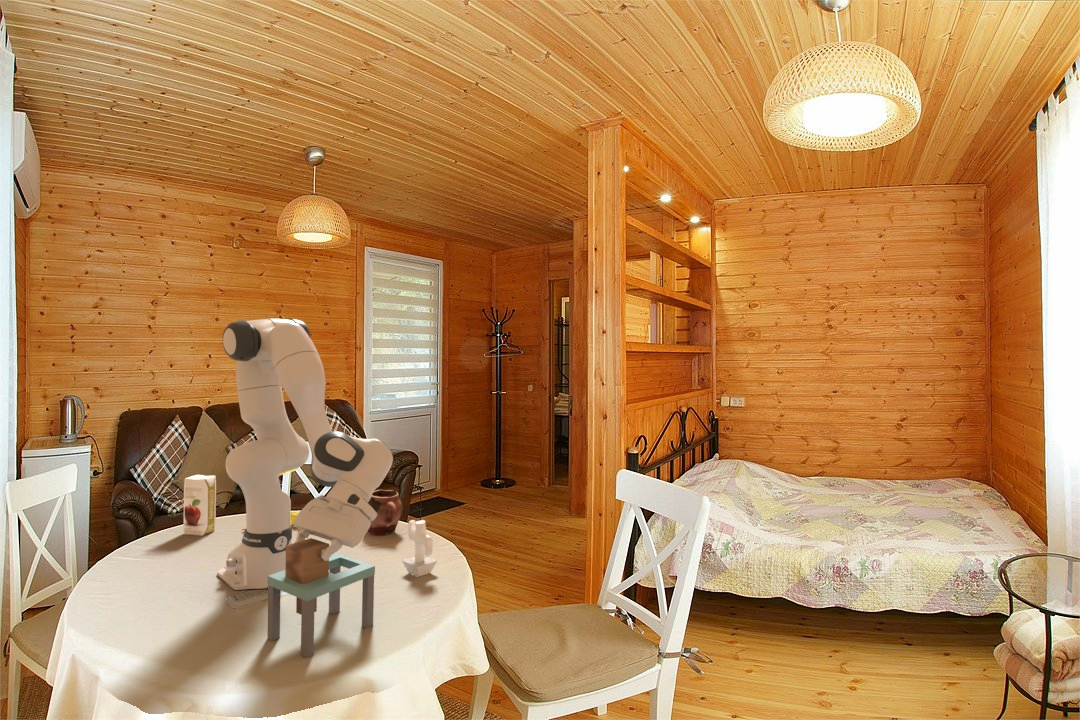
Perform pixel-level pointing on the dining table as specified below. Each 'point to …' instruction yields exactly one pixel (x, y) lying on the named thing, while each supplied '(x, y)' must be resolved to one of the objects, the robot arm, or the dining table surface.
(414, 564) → the figurine
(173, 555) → the dining table surface
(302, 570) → the walnut peg
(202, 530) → the juice carton
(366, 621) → the keyhole shelf
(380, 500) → the decorative planter
